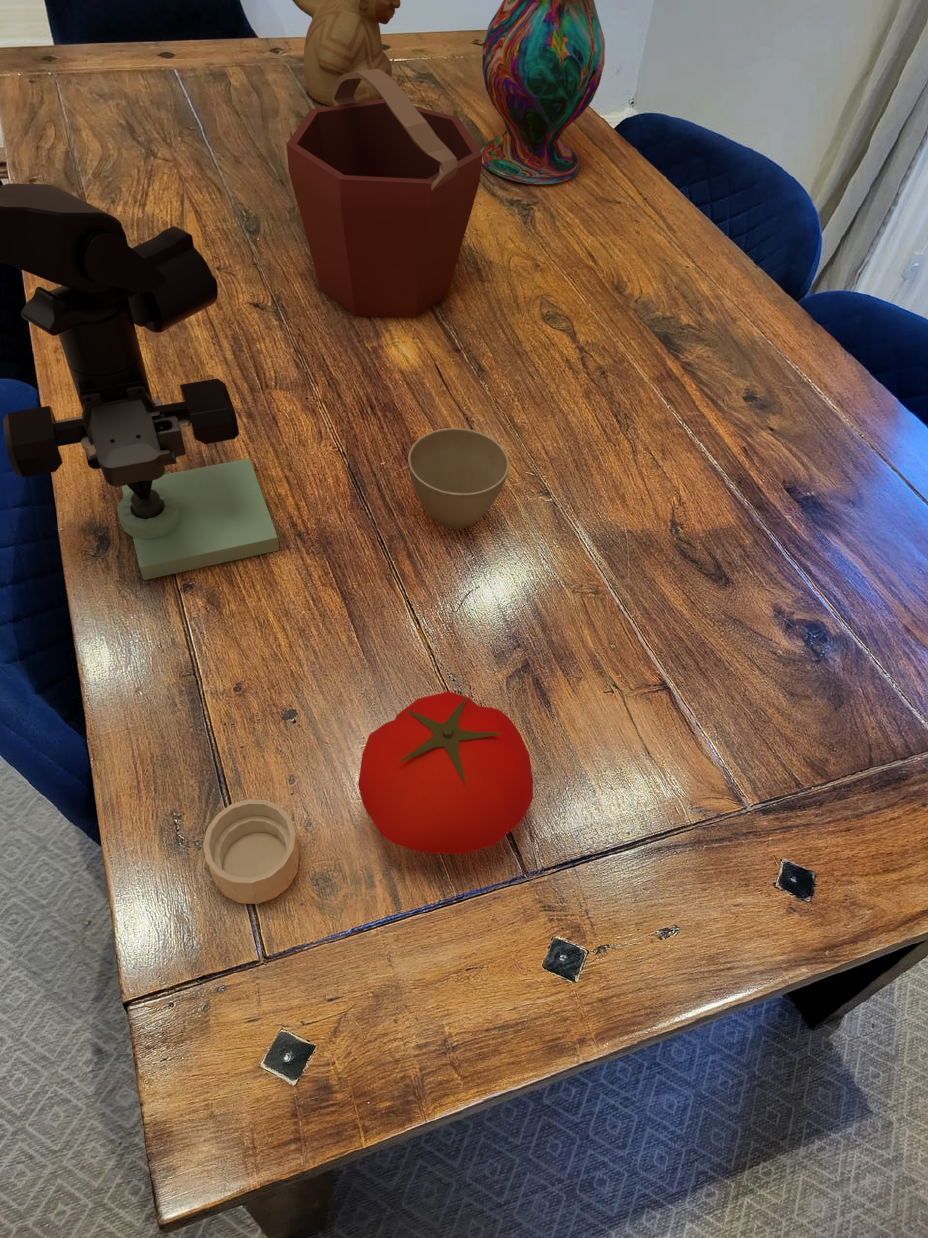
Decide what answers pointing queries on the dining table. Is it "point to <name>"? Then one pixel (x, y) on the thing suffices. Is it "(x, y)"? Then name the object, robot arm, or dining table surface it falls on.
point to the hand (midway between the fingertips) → (144, 496)
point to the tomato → (446, 776)
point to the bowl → (252, 851)
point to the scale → (201, 520)
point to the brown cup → (457, 474)
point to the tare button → (147, 505)
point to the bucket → (383, 197)
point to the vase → (540, 84)
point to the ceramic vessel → (344, 44)
